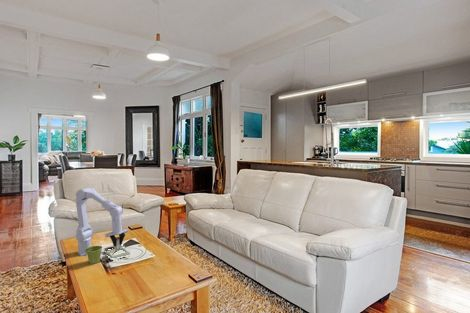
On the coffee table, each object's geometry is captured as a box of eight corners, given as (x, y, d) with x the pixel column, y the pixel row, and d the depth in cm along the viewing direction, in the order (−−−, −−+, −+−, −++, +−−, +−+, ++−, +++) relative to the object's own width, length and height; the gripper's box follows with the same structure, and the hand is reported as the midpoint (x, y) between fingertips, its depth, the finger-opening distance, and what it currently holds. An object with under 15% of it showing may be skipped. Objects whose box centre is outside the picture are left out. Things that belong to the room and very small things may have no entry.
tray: (106, 255, 184) (106, 251, 184) (123, 251, 192) (123, 246, 192) (112, 261, 176) (112, 256, 176) (129, 256, 184) (129, 251, 184)
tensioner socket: (104, 251, 191) (104, 248, 191) (113, 249, 195) (113, 245, 195) (107, 254, 187) (107, 250, 187) (116, 251, 191) (116, 248, 191)
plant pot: (96, 266, 170) (95, 252, 169) (82, 264, 172) (81, 250, 171) (106, 259, 179) (105, 246, 179) (93, 258, 181) (92, 245, 180)
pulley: (115, 248, 196) (114, 244, 196) (123, 246, 200) (123, 242, 200) (118, 251, 192) (118, 247, 192) (127, 249, 196) (126, 245, 196)
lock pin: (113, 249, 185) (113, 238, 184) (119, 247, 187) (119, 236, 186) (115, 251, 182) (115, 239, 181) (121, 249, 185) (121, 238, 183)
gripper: (107, 229, 175) (108, 250, 176) (130, 224, 185) (131, 244, 186) (103, 226, 180) (104, 247, 181) (126, 221, 190) (126, 241, 191)
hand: (117, 245), depth 184 cm, fingers closed on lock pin, 3 cm apart
